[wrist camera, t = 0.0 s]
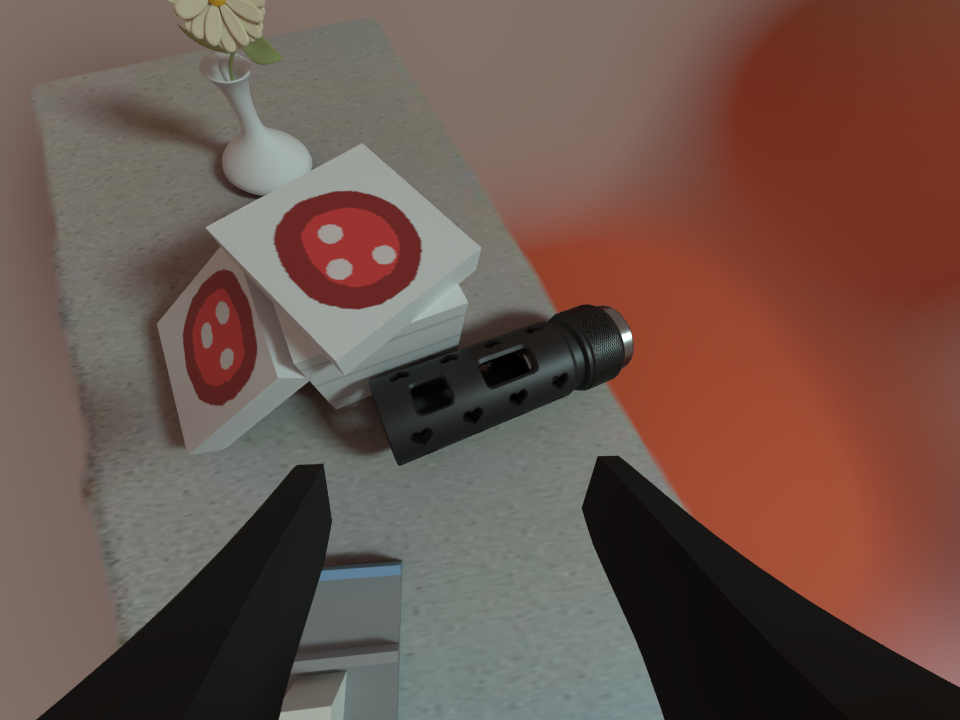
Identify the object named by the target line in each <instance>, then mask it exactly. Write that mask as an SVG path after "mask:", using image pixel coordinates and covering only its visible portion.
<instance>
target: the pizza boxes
mask: <svg viewBox="0 0 960 720" xmlns="http://www.w3.org/2000/svg"><path fill="white" fill-rule="evenodd" d="M205 228H206V229H207V230H208V232H209V233H210V234H211V235H212V237H213V238H214V239H215V240H216V242H217V243H218V244H219V246H220V248H219V249H218V250H217V251H216V253H215V254H214V255H213V256H212V257H211V259H210V260H209V261H208V262H207V264H206V265H205V266H204V267H203V268H202V270H201V271H200V272H199V273H198V274H197V276H196V277H195V278H194V279H193V281H192V282H191V283H190V284H189V285H188V287H187V288H186V289H185V290H184V291H183V293H182V294H181V295H180V296H179V298H178V299H177V300H176V301H175V302H174V304H173V305H172V306H171V307H170V308H169V310H168V311H167V312H166V313H165V315H164V316H163V317H162V318H161V319H160V321H159V322H158V323H157V327H158V331H159V335H160V339H161V344H162V348H163V352H164V356H165V361H166V365H167V369H168V374H169V378H170V382H171V386H172V391H173V395H174V399H175V403H176V408H177V412H178V416H179V421H180V425H181V429H182V433H183V438H184V442H185V446H186V450H187V455H194V454H200V453H206V452H212V451H219V450H224V449H226V448H227V447H228V446H229V445H230V444H232V443H233V442H234V441H235V440H237V439H238V438H239V437H240V436H242V435H243V434H244V433H245V432H247V431H248V430H249V429H250V428H252V427H253V426H254V425H255V424H257V423H258V422H259V421H260V420H261V419H263V418H264V417H265V416H266V415H268V414H269V413H270V412H271V411H273V410H274V409H275V408H276V407H278V406H279V405H280V404H281V403H283V402H284V401H285V400H286V399H287V398H289V397H290V396H291V395H292V394H294V393H295V392H296V391H297V390H299V389H300V388H301V387H302V386H304V385H305V384H306V383H307V382H309V381H310V382H311V383H312V384H313V385H314V386H315V388H316V389H317V390H318V391H319V392H320V393H321V394H322V395H323V396H324V397H325V398H326V400H327V401H328V402H329V403H330V404H331V405H332V406H333V407H334V408H335V409H336V410H337V409H339V408H342V407H344V406H347V405H349V404H352V403H354V402H357V401H359V400H362V399H364V398H367V397H369V396H372V393H371V390H370V387H369V381H371V380H374V379H377V378H379V377H382V376H385V375H388V374H391V373H394V372H397V371H400V370H403V369H406V368H408V367H411V366H414V365H417V364H420V363H423V362H426V361H429V360H432V359H434V358H437V357H440V356H443V355H446V354H449V353H452V352H455V351H457V348H458V344H459V340H460V335H461V331H462V327H463V323H464V318H465V314H466V310H467V305H468V302H467V300H466V298H465V296H464V294H463V292H462V290H461V288H460V286H459V283H460V282H462V281H463V280H464V279H465V278H467V277H468V276H469V275H470V274H472V273H473V272H474V271H475V270H476V268H477V263H478V259H479V255H480V251H481V247H480V246H479V245H478V244H476V243H475V242H474V241H473V240H472V239H471V238H470V237H468V236H467V235H466V234H465V233H464V232H463V231H462V230H460V229H459V228H458V227H457V226H456V225H455V224H454V223H452V222H451V221H450V220H449V219H448V218H447V217H446V216H445V215H443V214H442V213H441V212H440V211H439V210H438V209H437V208H435V207H434V206H433V205H432V204H431V203H430V202H429V201H427V200H426V199H425V198H424V197H423V196H422V195H421V194H419V193H418V192H417V191H416V190H415V189H414V188H413V187H411V186H410V185H409V184H408V183H407V182H406V181H405V180H403V179H402V178H401V177H400V176H399V175H398V174H397V173H396V172H394V171H393V170H392V169H391V168H390V167H389V166H388V165H386V164H385V163H384V162H383V161H382V160H381V159H380V158H378V157H377V156H376V155H375V154H374V153H373V152H372V151H370V150H369V149H368V148H367V147H366V146H365V145H364V144H360V145H358V146H356V147H355V148H353V149H351V150H349V151H347V152H345V153H343V154H341V155H340V156H338V157H336V158H334V159H332V160H330V161H328V162H326V163H325V164H323V165H321V166H319V167H317V168H315V169H313V170H312V171H310V172H308V173H306V174H304V175H302V176H300V177H298V178H297V179H295V180H293V181H291V182H289V183H287V184H285V185H283V186H282V187H280V188H278V189H276V190H274V191H272V192H270V193H269V194H267V195H265V196H263V197H261V198H259V199H257V200H255V201H254V202H252V203H250V204H248V205H246V206H244V207H242V208H240V209H239V210H237V211H235V212H233V213H231V214H229V215H227V216H226V217H224V218H222V219H220V220H218V221H216V222H214V223H212V224H211V225H209V226H207V227H205Z"/></svg>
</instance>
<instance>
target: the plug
mask: <svg viewBox="0 0 960 720" xmlns="http://www.w3.org/2000/svg"><path fill="white" fill-rule="evenodd" d="M346 675H347V671H345V672H336V673H327V674H318V675H309V676H300V677H298V679H297V680H296V681H295V683H294V684H293V686H292V687H291V689H290V690H289V691H288V693H287V694H286V696H285V697H284V699H283V704H282V708H281V713H280V717H279V720H343V717H344V703H345V689H346Z"/></svg>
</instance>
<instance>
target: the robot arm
mask: <svg viewBox="0 0 960 720" xmlns="http://www.w3.org/2000/svg"><path fill="white" fill-rule="evenodd" d="M582 511H583V514H584V517H585V521H586V524H587V527H588V530H589V533H590V536H591V539H592V542H593V545H594V548H595V550H596V552H597V555H598V557H599V559H600V561H601V564H602V566H603V568H604V571H605V573H606V575H607V577H608V579H609V582H610V584H611V586H612V588H613V590H614V593H615V595H616V597H617V599H618V602H619V604H620V606H621V608H622V610H623V613H624V615H625V617H626V619H627V621H628V624H629V626H630V628H631V630H632V632H633V635H634V637H635V640H636V642H637V644H638V647H639V649H640V652H641V654H642V657H643V659H644V662H645V665H646V668H647V671H648V673H649V676H650V679H651V682H652V685H653V687H654V690H655V693H656V696H657V699H658V701H659V704H660V707H661V710H662V713H663V716H664V719H665V720H960V687H958V686H956V685H954V684H952V683H950V682H948V681H947V680H945V679H943V678H941V677H939V676H938V675H936V674H934V673H932V672H930V671H928V670H926V669H925V668H923V667H921V666H919V665H918V664H916V663H914V662H912V661H910V660H908V659H907V658H905V657H903V656H901V655H899V654H897V653H896V652H894V651H892V650H890V649H889V648H887V647H885V646H884V645H882V644H880V643H878V642H877V641H875V640H873V639H871V638H870V637H867V636H866V635H864V634H863V633H861V632H859V631H857V630H856V629H854V628H853V627H851V626H849V625H848V624H846V623H845V622H843V621H841V620H840V619H838V618H836V617H835V616H833V615H831V614H830V613H828V612H827V611H825V610H823V609H822V608H820V607H818V606H817V605H815V604H814V603H812V602H810V601H809V600H807V599H806V598H804V597H803V596H801V595H800V594H798V593H796V592H795V591H793V590H792V589H790V588H789V587H787V586H786V585H784V584H783V583H782V582H780V581H779V580H777V579H775V578H774V577H773V576H771V575H770V574H768V573H767V572H765V571H764V570H762V569H761V568H759V567H758V566H756V565H755V564H753V563H752V562H751V561H750V560H748V559H747V558H745V557H744V556H743V555H741V554H740V553H739V552H737V551H736V550H735V549H733V548H732V547H731V546H729V545H728V544H727V543H725V542H724V541H723V540H721V539H720V538H719V537H717V536H716V535H714V534H713V533H712V532H711V531H709V530H708V529H707V528H705V527H704V526H703V525H702V524H701V523H699V522H698V521H697V520H696V519H694V518H693V517H692V516H691V515H689V514H688V513H687V512H686V511H684V510H683V509H682V508H681V507H680V506H678V505H677V504H676V503H675V502H673V501H672V500H671V499H670V498H669V497H667V496H666V495H665V494H664V493H663V492H661V491H660V490H659V489H658V488H657V487H656V486H654V485H653V484H652V483H651V482H650V481H648V480H647V479H646V478H645V477H644V476H642V475H641V474H640V473H639V472H638V471H637V470H635V469H634V468H633V467H632V466H630V465H629V464H628V463H627V462H626V461H624V460H623V459H622V458H620V457H619V456H598V457H597V460H596V463H595V467H594V470H593V473H592V476H591V480H590V483H589V486H588V489H587V493H586V496H585V499H584V502H583V506H582ZM331 524H332V518H331V511H330V504H329V498H328V491H327V484H326V478H325V471H324V464H310V465H297V466H295V467H294V468H293V469H292V470H291V471H290V473H289V474H288V475H287V476H286V477H285V479H284V480H283V481H282V482H281V483H280V485H279V486H278V487H277V488H276V489H275V490H274V492H273V493H272V494H271V495H270V496H269V498H268V499H267V500H266V501H265V502H264V503H263V504H262V506H261V507H260V508H259V509H258V510H257V511H256V512H255V514H254V515H253V516H252V517H251V518H250V519H249V520H248V521H247V522H246V524H245V525H244V526H243V527H242V528H241V529H240V530H239V531H238V532H237V533H236V535H235V536H234V537H233V538H232V539H231V540H230V541H229V542H228V543H227V544H226V545H225V547H224V548H223V549H222V550H221V551H220V552H219V553H218V554H217V555H216V556H215V557H214V558H213V559H212V560H211V561H210V562H209V563H208V564H207V565H206V566H205V567H204V568H203V569H202V570H201V571H200V572H199V573H198V574H197V575H196V576H195V577H194V578H193V579H192V580H191V581H190V582H189V583H188V584H187V585H186V586H185V587H184V588H183V589H182V590H181V591H180V592H179V593H178V594H177V595H176V596H175V597H174V598H173V599H172V600H171V601H170V602H169V603H168V604H167V605H166V606H165V607H164V608H163V609H162V610H161V611H160V612H159V613H158V614H156V615H155V616H154V617H153V618H152V619H151V620H150V621H149V622H148V623H147V624H146V625H145V626H144V627H142V628H141V629H140V630H139V631H138V632H137V633H136V634H135V635H134V636H133V637H131V638H130V639H129V640H128V641H127V642H126V643H125V644H124V645H123V646H122V647H120V648H119V649H118V650H117V651H116V652H115V653H114V654H113V655H111V656H110V657H109V658H108V659H107V660H106V661H105V662H103V663H102V664H101V665H100V666H99V667H98V668H96V669H95V670H94V671H93V672H92V673H91V674H89V675H88V676H87V677H86V678H85V679H84V680H83V681H82V682H80V683H79V684H78V685H77V686H76V687H74V689H72V690H71V691H70V692H69V693H67V694H66V695H65V696H64V697H63V698H62V699H61V700H59V701H58V702H57V703H56V704H54V705H53V706H52V707H51V708H50V709H48V710H47V711H46V712H45V713H44V714H43V715H41V716H40V717H39V718H38V719H36V720H279V717H280V713H281V708H282V704H283V699H284V696H285V692H286V688H287V685H288V681H289V677H290V674H291V670H292V667H293V664H294V660H295V657H296V654H297V651H298V647H299V644H300V641H301V637H302V634H303V631H304V628H305V624H306V621H307V618H308V615H309V611H310V608H311V605H312V602H313V598H314V595H315V592H316V588H317V585H318V582H319V578H320V575H321V572H322V568H323V565H324V560H325V555H326V550H327V545H328V540H329V535H330V529H331Z"/></svg>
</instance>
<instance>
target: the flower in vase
mask: <svg viewBox="0 0 960 720" xmlns="http://www.w3.org/2000/svg"><path fill="white" fill-rule="evenodd" d="M167 1H168V2H170V3H172V4H174V7H173V9H174V12H175V14H176V15H177V16H178V17H180V18H183V19H185V22H184V26H185V28H186V30H185V29H183V28H182V27H181V26H179V25H178V26H179V27H180V28H181V30H182V31H183V32H184V33H185V34H186V35H187V36H189V37H190V38H191V39H193V40H194V41H196V42H197V43H199V44H201V45H202V46H205V47H207V48H209V49H212V50H215V51H219V53H214V54H211V55H208V56H207V57H205V58H204V59H203V60H202V61H201V62H200V65H199V70H200V72H201V73H202V75H203V76H204V77H205V78H207V79H208V80H210V81H211V82H213V83H214V84H215V85H216V86H217V87H218V88H219V89H220V90H221V91H222V92H223V94H224V95H225V97H226V98H227V99H228V101H229V103H230V104H231V106H232V108H233V110H234V112H235V113H236V115H237V118H238V120H239V122H240V125H241V133H239V134H238V135H237V136H235V137H234V138H233V139H232V140H231V141H230V142H229V144H228V145H227V147H226V149H225V150H224V153H223V156H222V165H223V171H224V174H225V176H226V177H227V179H228V180H229V181H230V182H231V183H232V184H233V185H234V186H236V187H238V188H239V189H241V190H243V191H246V192H248V193H251V194H254V195H259V196H265V195H267V194H269V193H270V192H272V191H274V190H276V189H278V188H280V187H282V186H283V185H285V184H287V183H289V182H291V181H293V180H295V179H297V178H298V177H300V176H302V175H304V174H306V173H308V172H310V171H311V169H312V158H311V155H310V153H309V151H308V150H307V149H306V148H305V146H304V145H303V144H302V143H301V142H300V141H299V140H298V139H296V138H295V137H293V136H291V135H289V134H287V133H285V132H282V131H279V130H276V129H271V128H266V127H265V126H263V125H262V123H261V121H260V120H259V118H258V116H257V114H256V111H255V108H254V106H253V103H252V100H251V96H250V92H249V87H248V79H249V75H250V72H251V65H250V63H249V61H248V60H247V59H246V58H244V57H243V56H241V55H238V54H235V51H236V49H241V48H242V49H243V50H244V51H245V53H246V54H247V55H248V56H249V57H250V58H251V59H252V60H253V61H254V62H255V63H257V64H261V65H266V64H272V63H275V62H278V61H281V60H283V59H284V58H283V57H282V56H281V55H280V54H279V53H278V52H277V51H276V49H275V48H274V47H273V46H272V45H271V44H270V43H269V42H268V41H267V40H266V39H264V38H263V37H262V30H263V24H262V21H263V17H264V16H265V9H264V7H263V6H264V5H265V0H167ZM226 50H227V51H228V52H227V51H226Z"/></svg>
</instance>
